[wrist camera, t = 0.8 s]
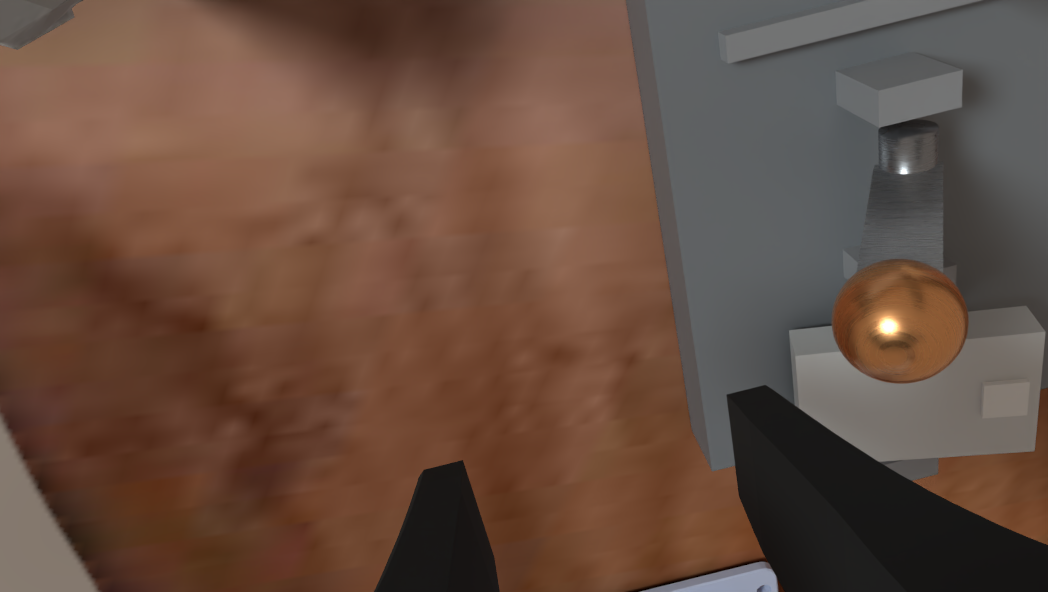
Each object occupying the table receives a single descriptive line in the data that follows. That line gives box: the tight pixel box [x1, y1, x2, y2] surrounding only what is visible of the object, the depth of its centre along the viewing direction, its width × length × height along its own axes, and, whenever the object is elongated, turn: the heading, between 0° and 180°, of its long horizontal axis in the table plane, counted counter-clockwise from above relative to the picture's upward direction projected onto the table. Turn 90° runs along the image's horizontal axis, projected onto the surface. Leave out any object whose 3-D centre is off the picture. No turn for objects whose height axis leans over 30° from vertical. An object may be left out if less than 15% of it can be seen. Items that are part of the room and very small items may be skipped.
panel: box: [626, 0, 1048, 481], centre depth 20 cm, size 17×10×4 cm, turn 12°
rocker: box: [789, 306, 1046, 462], centre depth 21 cm, size 4×6×1 cm, turn 103°
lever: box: [831, 119, 969, 384], centre depth 17 cm, size 3×2×7 cm
